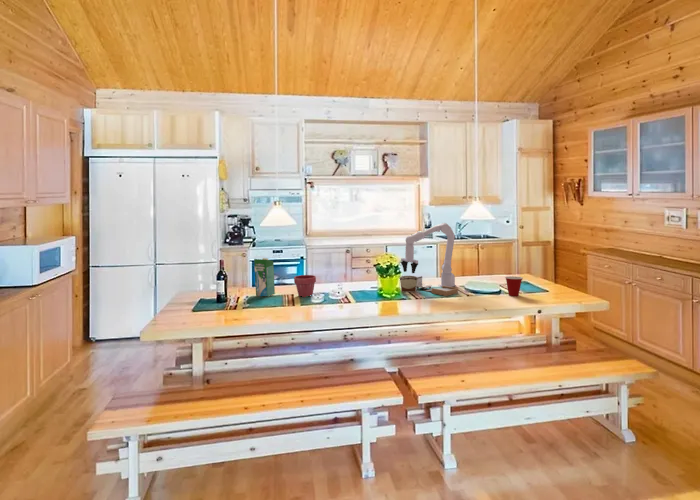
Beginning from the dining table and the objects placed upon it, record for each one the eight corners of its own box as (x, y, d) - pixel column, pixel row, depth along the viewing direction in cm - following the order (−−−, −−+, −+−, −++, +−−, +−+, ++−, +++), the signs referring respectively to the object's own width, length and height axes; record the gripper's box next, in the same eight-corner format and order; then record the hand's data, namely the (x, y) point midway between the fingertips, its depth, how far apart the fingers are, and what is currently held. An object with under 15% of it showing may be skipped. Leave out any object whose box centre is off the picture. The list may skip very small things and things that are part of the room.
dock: (433, 289, 330) (433, 283, 330) (457, 293, 315) (457, 288, 314) (421, 291, 323) (421, 286, 322) (446, 296, 307) (446, 291, 307)
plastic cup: (522, 293, 308) (523, 275, 306) (522, 297, 298) (523, 278, 296) (504, 293, 312) (505, 274, 310) (504, 296, 301) (504, 278, 300)
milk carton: (274, 294, 324) (273, 257, 320) (267, 297, 316) (265, 259, 312) (263, 293, 327) (262, 256, 324) (255, 295, 319) (254, 258, 316)
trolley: (421, 286, 335) (421, 276, 334) (431, 288, 328) (431, 277, 327) (414, 288, 331) (414, 277, 330) (424, 290, 324) (424, 279, 323)
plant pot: (304, 292, 327) (303, 273, 325) (320, 294, 319) (320, 275, 317) (290, 296, 315) (289, 277, 314) (306, 299, 307) (306, 279, 305)
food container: (417, 290, 326) (417, 275, 325) (417, 292, 320) (417, 277, 319) (399, 290, 327) (399, 275, 326) (399, 292, 321) (399, 277, 320)
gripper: (398, 252, 338) (397, 271, 340) (413, 254, 327) (413, 274, 329) (404, 251, 342) (404, 270, 344) (420, 253, 332) (419, 273, 333)
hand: (409, 272), depth 337 cm, fingers open, 7 cm apart
